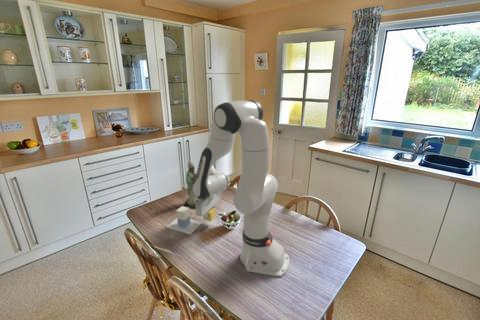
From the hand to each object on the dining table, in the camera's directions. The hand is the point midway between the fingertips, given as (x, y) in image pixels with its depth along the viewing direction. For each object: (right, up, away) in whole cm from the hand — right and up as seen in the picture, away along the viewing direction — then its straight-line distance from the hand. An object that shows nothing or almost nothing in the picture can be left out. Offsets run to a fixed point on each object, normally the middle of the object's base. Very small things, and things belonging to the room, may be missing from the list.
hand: (209, 215), depth 132 cm
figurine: (-14, +1, +24) cm, 28 cm away
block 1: (-14, -1, 0) cm, 14 cm away
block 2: (-14, -6, +2) cm, 16 cm away
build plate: (-14, -7, +2) cm, 16 cm away
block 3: (0, -2, +1) cm, 2 cm away
